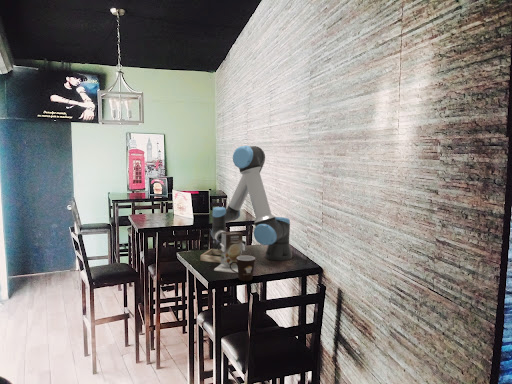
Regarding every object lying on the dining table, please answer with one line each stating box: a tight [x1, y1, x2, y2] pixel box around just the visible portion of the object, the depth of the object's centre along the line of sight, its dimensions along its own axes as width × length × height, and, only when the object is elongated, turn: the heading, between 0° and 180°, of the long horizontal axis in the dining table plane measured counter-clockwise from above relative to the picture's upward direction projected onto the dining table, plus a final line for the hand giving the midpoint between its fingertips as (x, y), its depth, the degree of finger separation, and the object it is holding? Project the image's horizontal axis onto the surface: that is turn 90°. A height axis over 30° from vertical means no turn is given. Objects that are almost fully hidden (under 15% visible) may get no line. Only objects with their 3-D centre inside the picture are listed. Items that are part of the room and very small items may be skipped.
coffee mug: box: [230, 255, 256, 282], centre depth 180 cm, size 12×9×10 cm
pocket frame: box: [200, 248, 221, 264], centre depth 213 cm, size 15×15×3 cm
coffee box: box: [220, 230, 244, 266], centre depth 194 cm, size 9×6×16 cm
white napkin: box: [213, 263, 238, 274], centre depth 195 cm, size 14×12×1 cm
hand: (234, 248), depth 190 cm, fingers closed on coffee box, 10 cm apart
